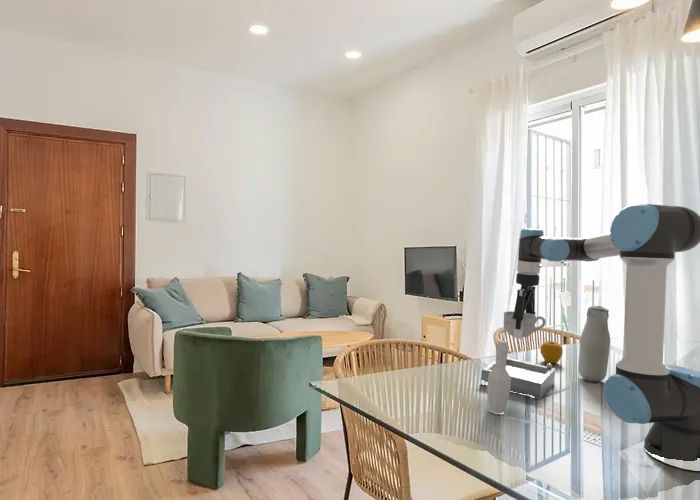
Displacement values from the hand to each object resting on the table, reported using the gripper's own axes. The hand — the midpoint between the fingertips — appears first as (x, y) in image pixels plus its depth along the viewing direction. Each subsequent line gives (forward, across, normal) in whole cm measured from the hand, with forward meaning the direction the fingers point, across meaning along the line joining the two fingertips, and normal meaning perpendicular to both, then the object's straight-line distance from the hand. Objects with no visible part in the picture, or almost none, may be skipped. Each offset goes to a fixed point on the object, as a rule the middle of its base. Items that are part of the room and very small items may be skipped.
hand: (522, 335), depth 172 cm
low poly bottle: (+18, -29, -2) cm, 34 cm away
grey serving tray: (+18, 0, 0) cm, 18 cm away
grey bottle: (+18, +24, -20) cm, 36 cm away
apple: (+18, +35, -3) cm, 40 cm away
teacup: (+1, 0, 0) cm, 1 cm away
